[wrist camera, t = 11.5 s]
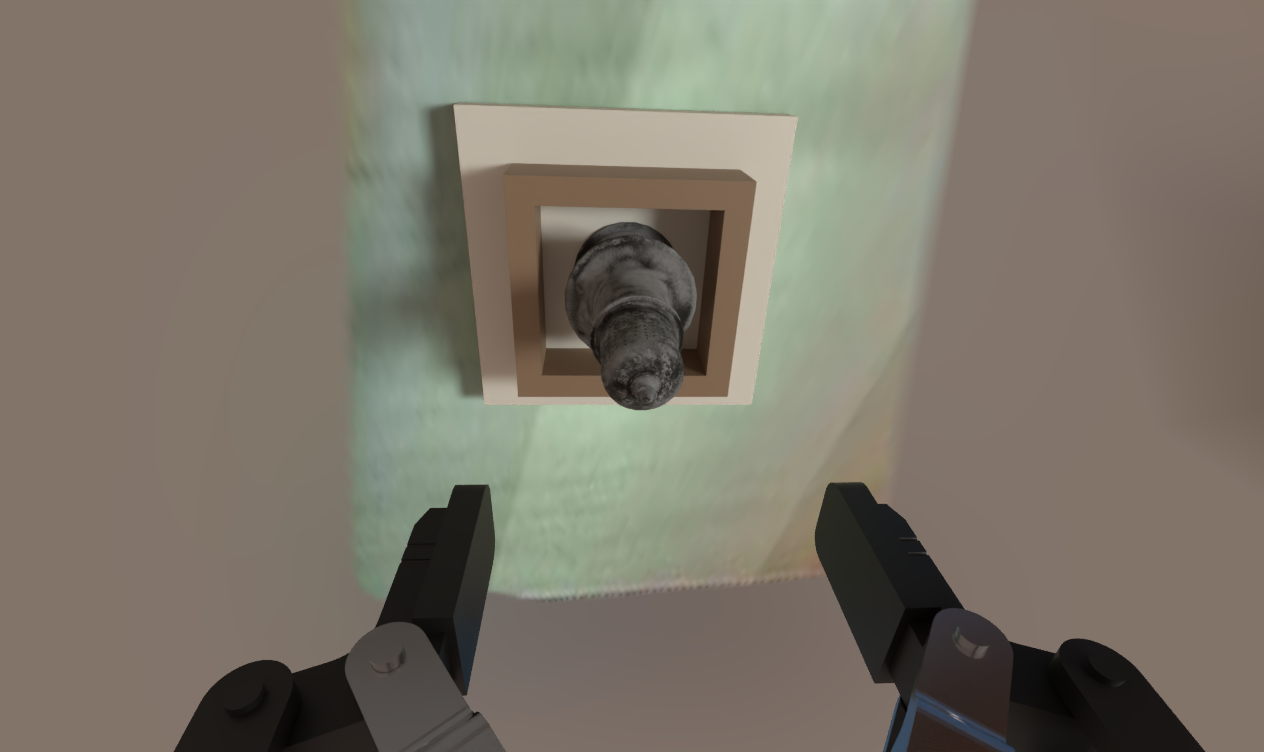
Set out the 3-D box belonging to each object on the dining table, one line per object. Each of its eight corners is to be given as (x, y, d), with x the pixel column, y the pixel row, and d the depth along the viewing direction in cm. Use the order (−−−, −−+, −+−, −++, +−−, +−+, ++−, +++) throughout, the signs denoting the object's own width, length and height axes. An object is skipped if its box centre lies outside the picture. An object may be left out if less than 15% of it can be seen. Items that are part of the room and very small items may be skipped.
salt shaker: (558, 223, 27) (537, 327, 17) (682, 208, 27) (739, 303, 17) (577, 335, 30) (568, 485, 19) (688, 322, 30) (740, 464, 19)
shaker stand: (460, 102, 26) (436, 109, 22) (787, 113, 27) (821, 123, 23) (488, 391, 33) (474, 435, 29) (745, 391, 34) (765, 434, 30)
